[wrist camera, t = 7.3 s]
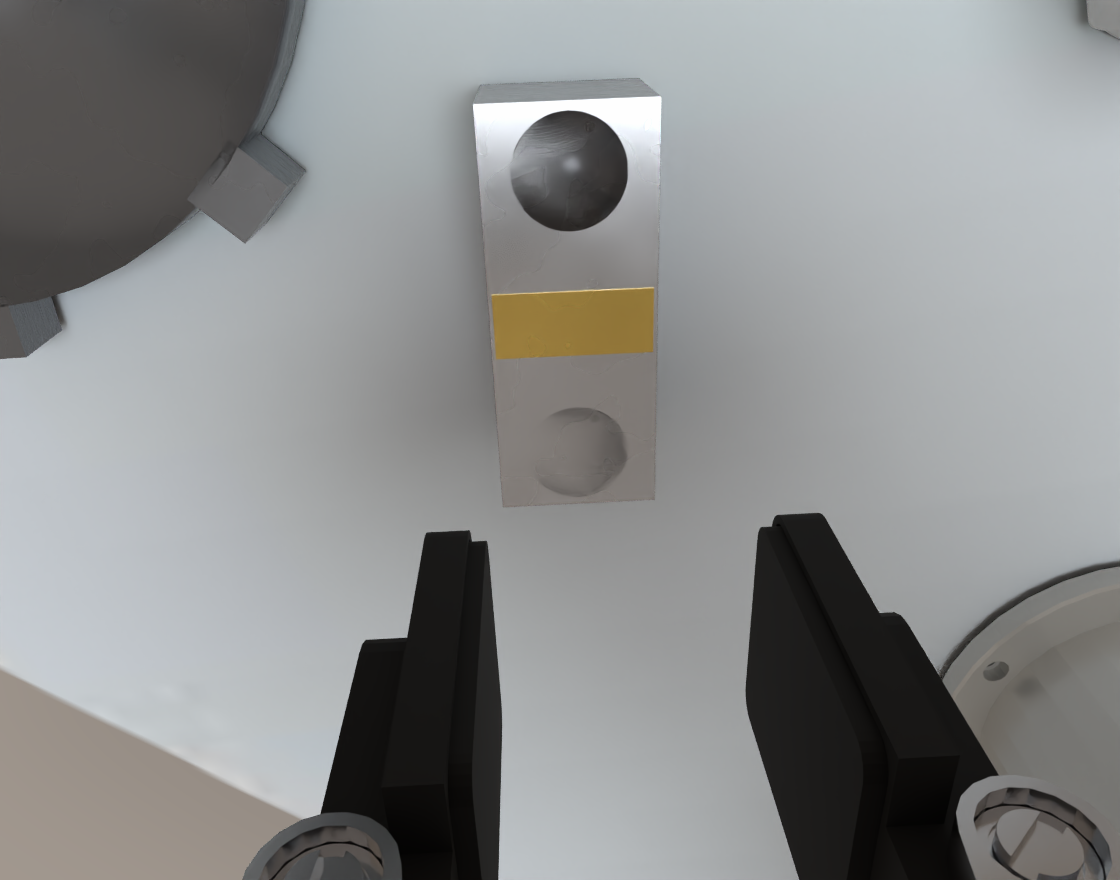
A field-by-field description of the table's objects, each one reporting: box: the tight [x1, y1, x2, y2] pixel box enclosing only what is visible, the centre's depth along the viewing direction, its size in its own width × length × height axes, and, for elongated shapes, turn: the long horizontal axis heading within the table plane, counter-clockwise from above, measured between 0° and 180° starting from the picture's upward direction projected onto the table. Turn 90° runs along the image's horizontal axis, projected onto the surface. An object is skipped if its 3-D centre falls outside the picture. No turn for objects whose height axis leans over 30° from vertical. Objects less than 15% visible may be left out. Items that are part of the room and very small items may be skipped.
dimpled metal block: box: [473, 78, 661, 507], centre depth 23 cm, size 10×4×4 cm, turn 2°
